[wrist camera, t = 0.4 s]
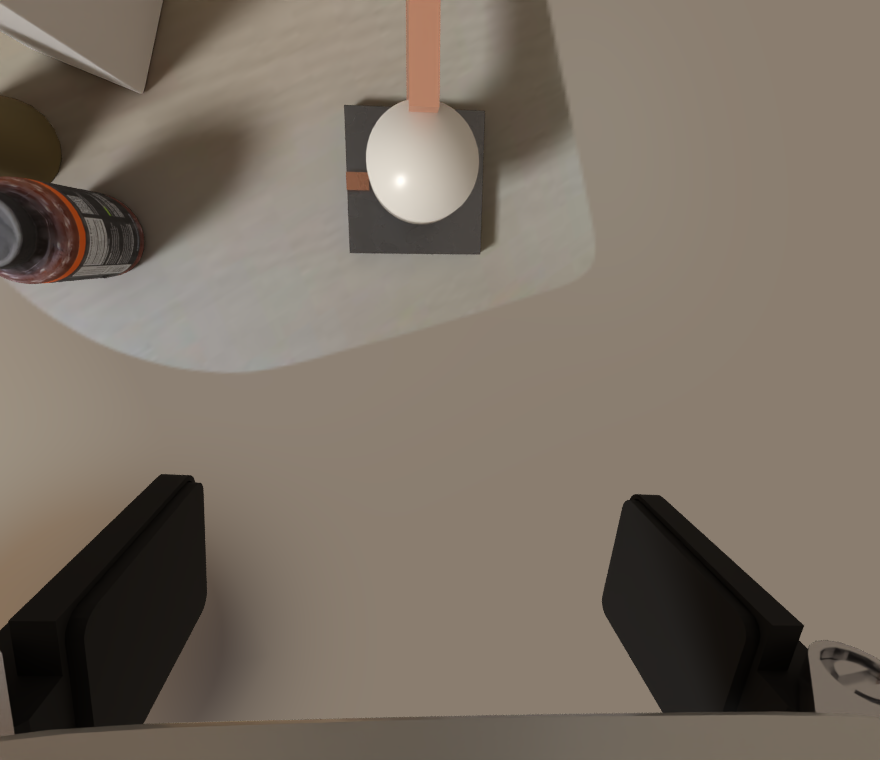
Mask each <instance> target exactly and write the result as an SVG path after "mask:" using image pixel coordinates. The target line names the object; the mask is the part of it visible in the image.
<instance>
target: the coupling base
mask: <svg viewBox="0 0 880 760" xmlns="http://www.w3.org/2000/svg"><path fill="white" fill-rule="evenodd" d="M390 108H391V107H380V106H356V105H344V114H345V140H346V166H347V172H346V182H347V192H348V218H349V243H350V253H396V254H480V246H481V214H482V183H483V151H484V119H485V111H476V110H455V111H456V112H458V113H459V114H460V115H461V116H462V117H463V118H464V120H465V121H466V122H467V124H468V125H469V127H470V129H471V131H472V132H473V135H474V137H475V140H476V144H477V147H478V154H479V168H478V175H477V179H476V182H475V185H474V187H473V189H472V192H471V193H470V195H469V197H468V198H467V200H466V201H465V202H464V203H463V204H462V205H461V206H460V207H459V208H458V209H457V210H456V211H454V212H453V213H451V214H450V215H448V216H447V217H445V218H444V219H442V220H440V221H437V222H434V223H430V224H412V223H407V222H405V221H402V220H400V219H398V218H396V217H394V216H393V215H392V214H390V213H389V212H388V211H387V210H386V209H385V208H384V207H383V206H382V205H381V204H380V202H379V201H378V199H377V198H376V196H375V194H374V192H373V189H372V186H371V183H370V180H369V176H368V172H367V166H366V150H367V143H368V140H369V136H370V134H371V132H372V129H373V127H374V126H375V124H376V122H377V121H378V120H379V118H380V117H381V116H382V115H383V114H384V113H385V112H386V111H387V110H388V109H390Z"/></svg>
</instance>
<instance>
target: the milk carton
mask: <svg viewBox="0 0 880 760" xmlns="http://www.w3.org/2000/svg"><path fill="white" fill-rule="evenodd" d="M162 3H163V0H0V31H1V32H2V33H4V34H6V35H8V36H9V37H11V38H13V39H15V40H16V41H18V42H20V43H22V44H23V45H25V46H27V47H29V48H30V49H32V50H35V51H37V52H40V53H42V54H45V55H47V56H49V57H52V58H54V59H57V60H59V61H62V62H64V63H66V64H69V65H71V66H74V67H76V68H79V69H81V70H84V71H86V72H88V73H91V74H93V75H96V76H98V77H101V78H103V79H106V80H108V81H110V82H113V83H115V84H118V85H120V86H123V87H125V88H128V89H130V90H132V91H135V92H137V93H140V94H142V93H143V92H144V88H145V84H146V79H147V75H148V70H149V65H150V60H151V55H152V51H153V46H154V41H155V36H156V32H157V27H158V22H159V17H160V13H161V8H162Z"/></svg>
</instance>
